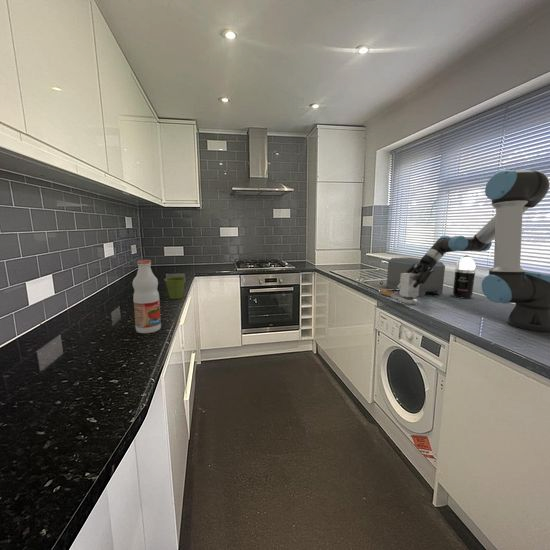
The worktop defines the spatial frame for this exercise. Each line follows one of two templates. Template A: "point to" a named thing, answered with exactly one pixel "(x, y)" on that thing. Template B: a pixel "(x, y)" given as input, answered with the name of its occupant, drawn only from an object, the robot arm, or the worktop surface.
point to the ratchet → (401, 297)
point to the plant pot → (175, 287)
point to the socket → (408, 284)
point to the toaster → (404, 264)
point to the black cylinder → (464, 277)
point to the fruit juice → (146, 299)
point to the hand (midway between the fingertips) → (403, 289)
